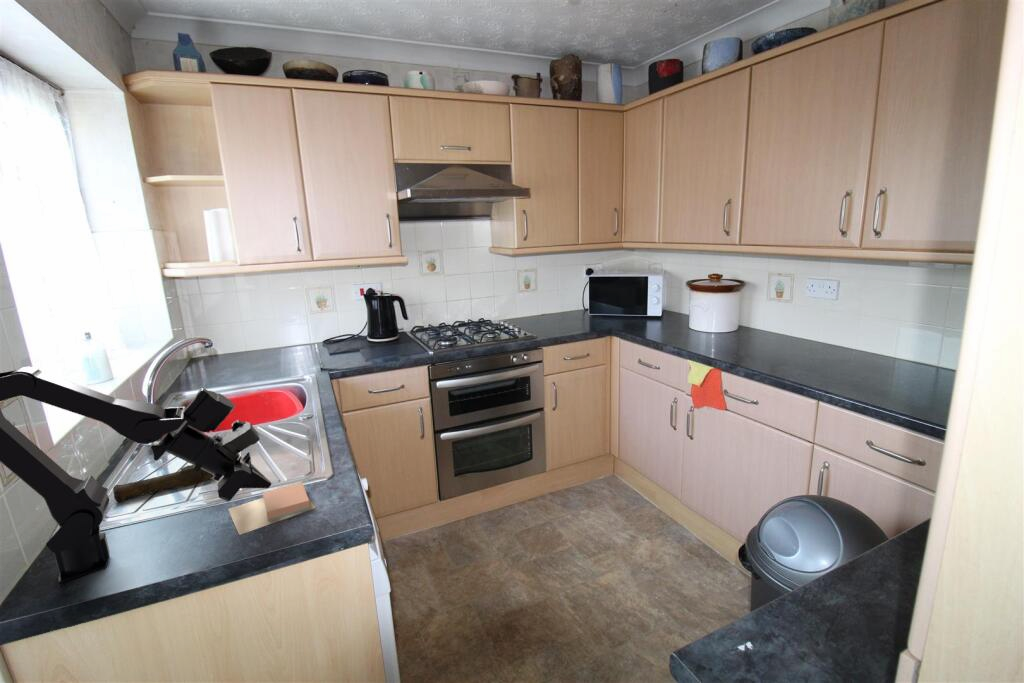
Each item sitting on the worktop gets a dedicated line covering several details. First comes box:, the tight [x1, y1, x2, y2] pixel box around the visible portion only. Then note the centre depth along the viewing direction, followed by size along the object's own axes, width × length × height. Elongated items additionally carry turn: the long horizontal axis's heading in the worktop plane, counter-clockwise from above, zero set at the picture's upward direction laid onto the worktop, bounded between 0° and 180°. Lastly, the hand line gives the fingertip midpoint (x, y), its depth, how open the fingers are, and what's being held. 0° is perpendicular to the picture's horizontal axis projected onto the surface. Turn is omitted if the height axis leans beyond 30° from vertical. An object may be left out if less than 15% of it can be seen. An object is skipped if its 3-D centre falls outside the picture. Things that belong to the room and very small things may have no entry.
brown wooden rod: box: [112, 464, 213, 503], centre depth 116 cm, size 19×4×5 cm, turn 118°
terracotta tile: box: [262, 482, 310, 521], centre depth 106 cm, size 2×9×8 cm
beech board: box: [227, 497, 317, 536], centre depth 105 cm, size 14×12×1 cm
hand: (269, 485), depth 103 cm, fingers closed
